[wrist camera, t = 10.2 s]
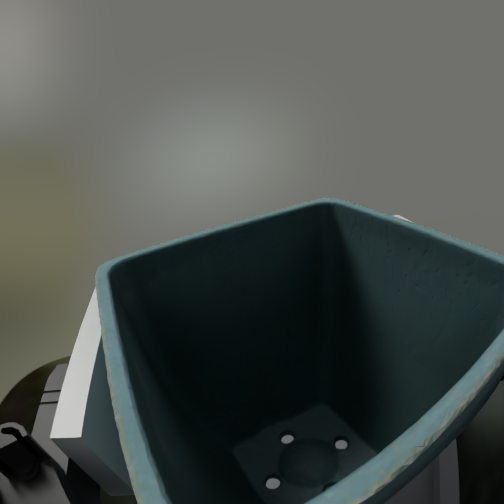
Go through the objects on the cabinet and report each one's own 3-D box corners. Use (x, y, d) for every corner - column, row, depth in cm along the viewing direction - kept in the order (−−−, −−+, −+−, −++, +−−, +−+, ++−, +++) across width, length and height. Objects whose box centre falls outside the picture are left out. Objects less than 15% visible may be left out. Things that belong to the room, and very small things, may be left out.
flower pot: (331, 361, 16) (329, 191, 12) (456, 465, 8) (555, 273, 5) (173, 435, 13) (92, 262, 9) (265, 599, 5) (172, 592, 1)
